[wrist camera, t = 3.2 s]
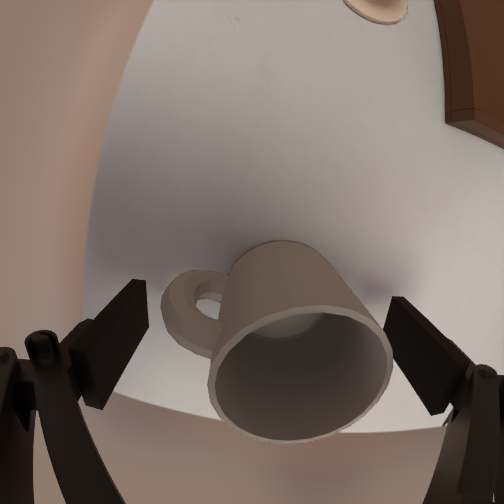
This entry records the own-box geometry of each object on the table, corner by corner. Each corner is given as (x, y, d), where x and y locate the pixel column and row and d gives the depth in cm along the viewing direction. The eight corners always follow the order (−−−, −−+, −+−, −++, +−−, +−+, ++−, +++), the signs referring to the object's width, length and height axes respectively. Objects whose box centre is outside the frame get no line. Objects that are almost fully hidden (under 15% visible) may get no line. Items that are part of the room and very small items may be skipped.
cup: (307, 351, 20) (337, 449, 11) (169, 310, 19) (125, 403, 10) (353, 260, 18) (424, 331, 10) (201, 205, 17) (157, 244, 8)
